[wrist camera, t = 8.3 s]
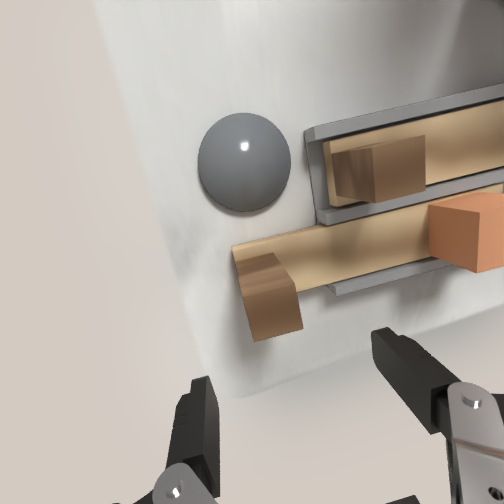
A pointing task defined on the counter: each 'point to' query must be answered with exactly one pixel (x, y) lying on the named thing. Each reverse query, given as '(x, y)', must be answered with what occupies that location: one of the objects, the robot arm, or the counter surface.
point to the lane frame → (362, 208)
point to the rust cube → (468, 231)
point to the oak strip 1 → (414, 155)
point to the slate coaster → (244, 162)
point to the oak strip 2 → (327, 259)
